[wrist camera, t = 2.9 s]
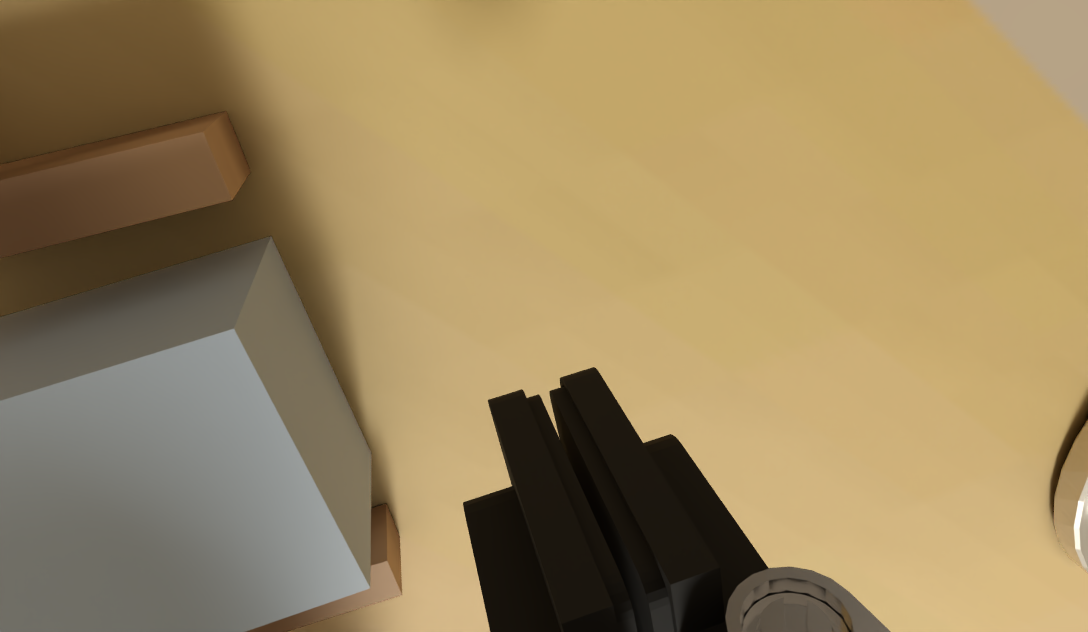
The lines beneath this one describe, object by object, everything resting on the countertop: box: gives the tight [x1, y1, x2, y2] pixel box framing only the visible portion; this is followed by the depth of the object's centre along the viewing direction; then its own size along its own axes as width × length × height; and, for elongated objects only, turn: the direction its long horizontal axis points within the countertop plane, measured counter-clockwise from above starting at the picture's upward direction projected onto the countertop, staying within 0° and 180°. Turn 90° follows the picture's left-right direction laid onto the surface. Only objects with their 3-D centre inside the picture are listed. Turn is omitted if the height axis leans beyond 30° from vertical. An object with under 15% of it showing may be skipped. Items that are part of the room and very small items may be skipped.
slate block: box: [0, 236, 372, 632], centre depth 14 cm, size 6×6×4 cm
